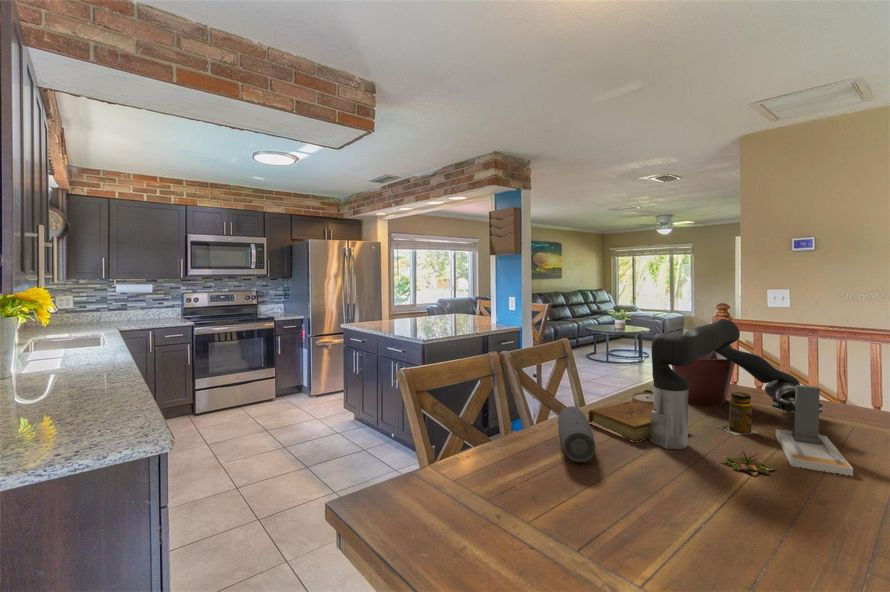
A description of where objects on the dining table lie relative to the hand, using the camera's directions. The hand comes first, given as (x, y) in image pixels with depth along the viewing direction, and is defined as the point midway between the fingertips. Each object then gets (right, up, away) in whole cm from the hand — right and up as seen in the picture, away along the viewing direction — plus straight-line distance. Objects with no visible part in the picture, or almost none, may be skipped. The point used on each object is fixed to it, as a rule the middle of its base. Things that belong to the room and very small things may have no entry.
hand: (803, 413), depth 126 cm
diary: (-43, -9, +16) cm, 47 cm away
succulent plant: (-27, -11, -15) cm, 33 cm away
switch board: (-4, -9, -7) cm, 13 cm away
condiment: (-12, -9, +11) cm, 19 cm away
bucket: (-4, -7, +44) cm, 45 cm away
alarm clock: (-26, -8, +40) cm, 49 cm away
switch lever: (-2, -7, -3) cm, 8 cm away
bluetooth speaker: (-69, -10, -2) cm, 70 cm away
